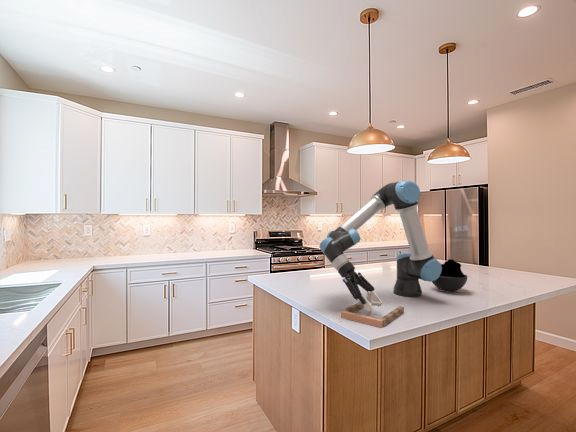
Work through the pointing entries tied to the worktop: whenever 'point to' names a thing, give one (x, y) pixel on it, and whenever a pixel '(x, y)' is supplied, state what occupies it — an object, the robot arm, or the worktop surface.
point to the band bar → (362, 319)
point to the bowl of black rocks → (450, 277)
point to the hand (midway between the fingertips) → (375, 307)
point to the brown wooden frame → (386, 318)
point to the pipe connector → (369, 296)
